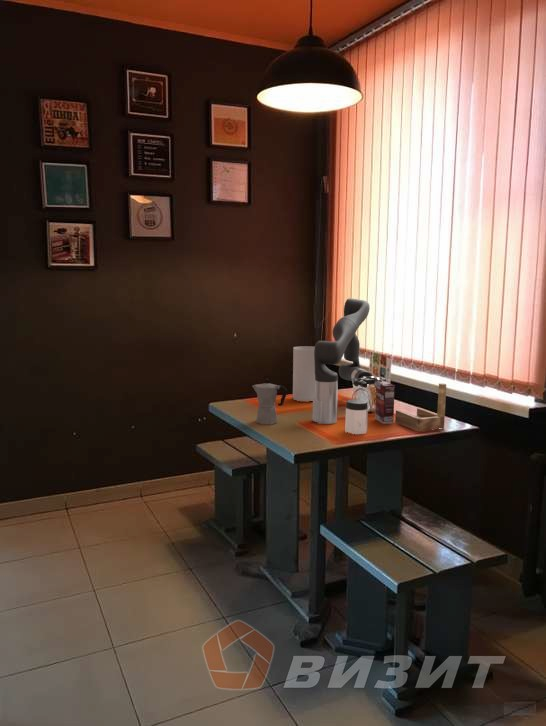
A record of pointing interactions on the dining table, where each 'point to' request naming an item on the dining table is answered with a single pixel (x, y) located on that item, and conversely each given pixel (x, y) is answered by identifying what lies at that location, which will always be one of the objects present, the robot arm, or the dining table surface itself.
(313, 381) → the cylinder vase
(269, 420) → the coffeepot
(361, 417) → the jar
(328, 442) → the dining table surface
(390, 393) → the supplement box
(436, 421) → the bracket
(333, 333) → the robot arm
